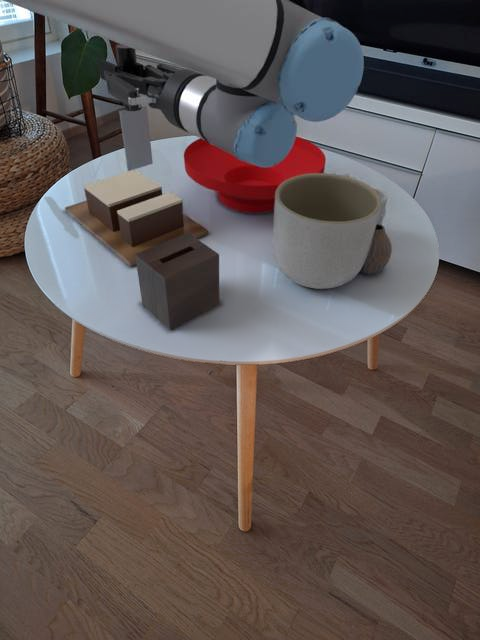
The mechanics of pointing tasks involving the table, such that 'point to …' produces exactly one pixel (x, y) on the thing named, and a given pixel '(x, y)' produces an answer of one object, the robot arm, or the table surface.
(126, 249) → the cake board
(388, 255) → the vase
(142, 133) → the knife
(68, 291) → the table surface
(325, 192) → the planter
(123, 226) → the cake slice
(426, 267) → the table surface
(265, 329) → the table surface
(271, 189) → the bowl
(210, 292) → the knife block
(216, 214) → the table surface
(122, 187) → the cake
